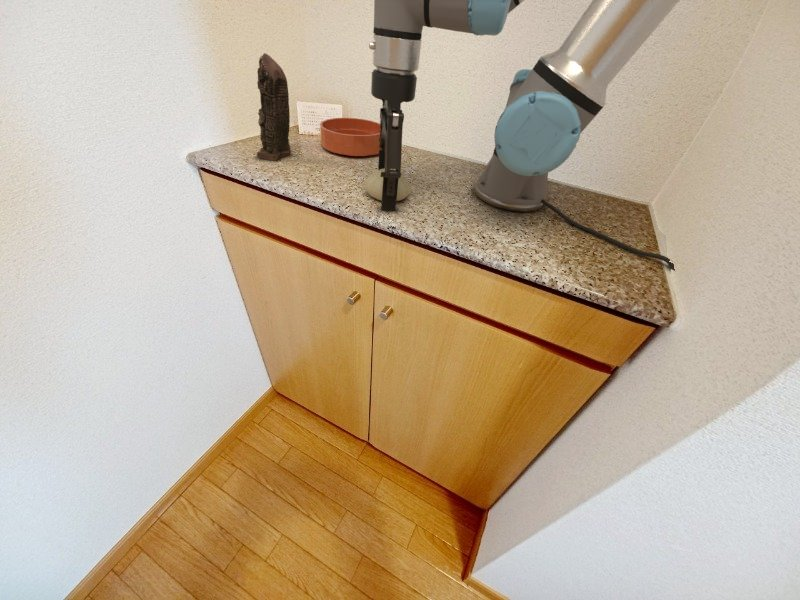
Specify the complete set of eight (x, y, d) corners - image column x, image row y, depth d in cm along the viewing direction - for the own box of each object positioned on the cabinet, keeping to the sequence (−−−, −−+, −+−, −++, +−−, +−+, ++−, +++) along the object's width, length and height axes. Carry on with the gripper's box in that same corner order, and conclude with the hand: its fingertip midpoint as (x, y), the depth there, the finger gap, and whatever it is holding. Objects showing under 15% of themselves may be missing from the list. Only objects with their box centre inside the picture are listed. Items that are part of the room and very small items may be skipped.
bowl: (397, 151, 89) (399, 129, 86) (353, 163, 79) (353, 139, 75) (353, 135, 97) (353, 115, 93) (307, 145, 86) (305, 122, 82)
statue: (269, 149, 81) (252, 49, 67) (296, 153, 80) (285, 54, 67) (256, 158, 75) (235, 51, 62) (285, 162, 75) (270, 56, 62)
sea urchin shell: (411, 178, 70) (413, 160, 62) (407, 214, 69) (407, 200, 61) (370, 173, 70) (366, 154, 62) (365, 208, 69) (360, 194, 61)
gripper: (369, 59, 61) (366, 170, 75) (375, 80, 43) (369, 223, 57) (408, 63, 62) (397, 172, 76) (430, 86, 44) (411, 224, 58)
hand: (385, 194), depth 67 cm, fingers open, 13 cm apart
